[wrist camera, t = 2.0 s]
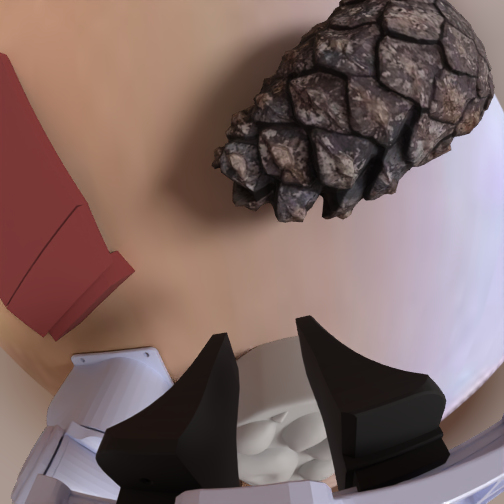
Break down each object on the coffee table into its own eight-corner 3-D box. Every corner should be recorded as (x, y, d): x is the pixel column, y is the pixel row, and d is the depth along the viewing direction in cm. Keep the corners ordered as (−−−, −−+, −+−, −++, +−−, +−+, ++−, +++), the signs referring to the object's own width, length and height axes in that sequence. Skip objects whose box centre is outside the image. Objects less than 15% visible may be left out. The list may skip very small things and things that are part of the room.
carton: (-29, 145, 20) (70, 333, 23) (-60, 144, 15) (39, 357, 18) (27, 58, 18) (153, 254, 21) (-4, 45, 13) (122, 272, 16)
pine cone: (196, 160, 19) (148, 165, 9) (359, -1, 15) (419, -68, 5) (311, 258, 21) (358, 337, 12) (452, 95, 17) (544, 83, 8)
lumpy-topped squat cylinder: (191, 394, 25) (177, 471, 17) (298, 307, 22) (323, 385, 14) (270, 439, 27) (275, 506, 19) (370, 370, 25) (404, 439, 16)
